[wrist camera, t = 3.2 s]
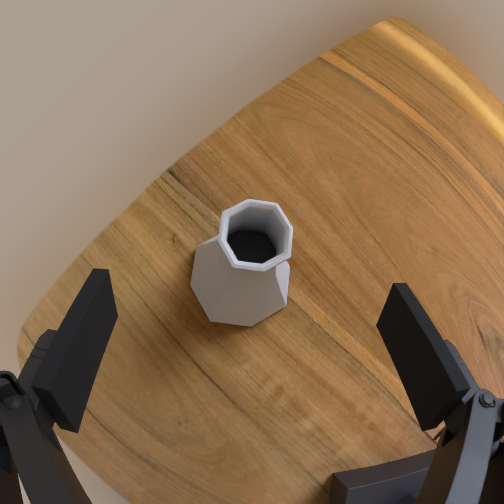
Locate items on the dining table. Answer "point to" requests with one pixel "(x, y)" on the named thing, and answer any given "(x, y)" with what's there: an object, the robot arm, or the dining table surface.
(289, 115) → the dining table surface
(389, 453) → the dining table surface
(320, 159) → the dining table surface
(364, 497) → the button box
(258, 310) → the flask
